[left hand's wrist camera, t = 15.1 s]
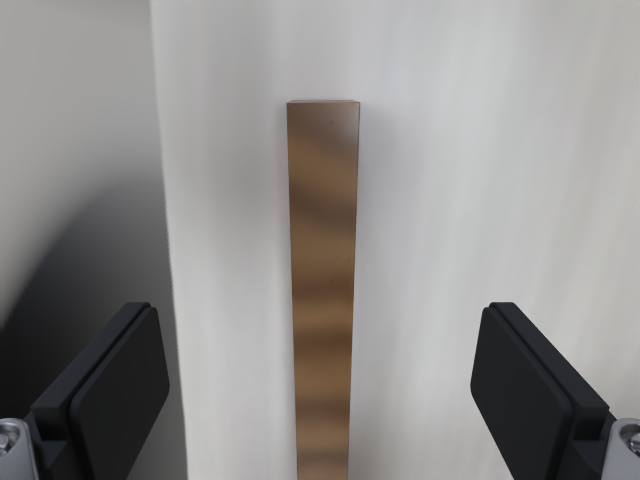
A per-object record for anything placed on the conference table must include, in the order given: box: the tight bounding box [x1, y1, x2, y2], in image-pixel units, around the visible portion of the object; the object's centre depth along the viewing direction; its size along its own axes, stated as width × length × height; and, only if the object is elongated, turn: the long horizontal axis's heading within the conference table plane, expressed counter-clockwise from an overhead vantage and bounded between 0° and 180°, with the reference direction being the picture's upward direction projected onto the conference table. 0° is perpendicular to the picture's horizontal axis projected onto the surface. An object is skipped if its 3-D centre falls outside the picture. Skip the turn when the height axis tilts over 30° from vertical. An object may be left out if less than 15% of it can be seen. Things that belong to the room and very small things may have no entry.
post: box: [287, 100, 360, 480], centre depth 43 cm, size 59×5×7 cm, turn 0°
